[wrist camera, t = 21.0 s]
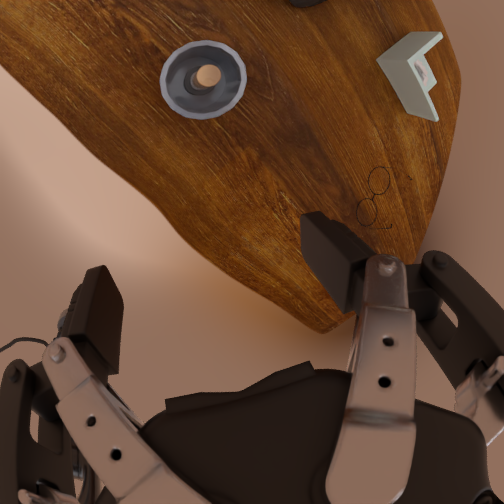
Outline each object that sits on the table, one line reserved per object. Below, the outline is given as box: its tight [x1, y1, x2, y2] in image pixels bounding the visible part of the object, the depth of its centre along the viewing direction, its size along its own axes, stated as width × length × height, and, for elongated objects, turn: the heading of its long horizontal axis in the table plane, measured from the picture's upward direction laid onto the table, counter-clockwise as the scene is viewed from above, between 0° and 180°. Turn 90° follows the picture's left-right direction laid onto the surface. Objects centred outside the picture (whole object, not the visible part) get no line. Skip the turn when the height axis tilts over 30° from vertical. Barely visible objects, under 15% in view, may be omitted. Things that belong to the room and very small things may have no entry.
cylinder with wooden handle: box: [184, 64, 221, 95], centre depth 24 cm, size 4×4×14 cm
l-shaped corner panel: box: [376, 32, 443, 122], centre depth 31 cm, size 12×12×8 cm
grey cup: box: [160, 40, 247, 120], centre depth 26 cm, size 8×8×10 cm
